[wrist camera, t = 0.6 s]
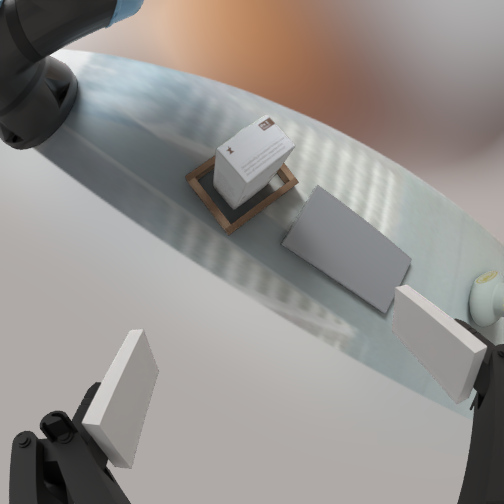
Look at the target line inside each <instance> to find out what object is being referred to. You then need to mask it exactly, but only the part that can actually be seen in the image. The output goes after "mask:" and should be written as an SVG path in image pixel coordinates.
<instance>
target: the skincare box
mask: <svg viewBox="0 0 504 504" xmlns="http://www.w3.org/2000/svg"><path fill="white" fill-rule="evenodd" d="M294 148H295V144H294V143H293V142H292V141H291V140H290V139H289V138H288V137H287V136H286V134H285V133H284V132H283V131H282V130H281V129H280V128H279V127H278V126H277V125H276V124H275V123H274V121H273V120H272V119H271V118H270V117H269V116H268V115H265V116H263V117H262V118H260V119H259V120H257V121H256V122H254V123H253V124H251V125H250V126H247V127H245V128H243V129H242V130H240V131H239V132H238V133H237V134H236V135H235V136H233V137H232V138H231V139H229V140H228V141H226V142H225V143H224V144H222V145H221V146H219V147H218V148H217V149H216V157H215V169H214V180H213V187H214V188H215V189H216V190H217V191H218V193H219V194H220V195H221V196H222V197H223V199H224V200H225V201H226V202H227V203H228V205H229V206H230V207H231V208H232V209H233V210H235V209H237V208H238V207H239V206H241V205H242V204H244V203H245V202H246V201H248V200H249V199H250V198H252V197H253V196H254V195H255V194H257V193H258V192H259V191H260V190H261V189H263V188H264V187H265V186H266V185H267V184H268V183H269V182H270V181H271V179H272V178H273V177H274V175H275V174H276V172H277V171H278V170H279V168H280V167H281V166H282V164H283V163H284V162H285V160H286V159H287V157H288V156H289V154H290V153H291V152H292V150H293V149H294Z"/></svg>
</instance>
